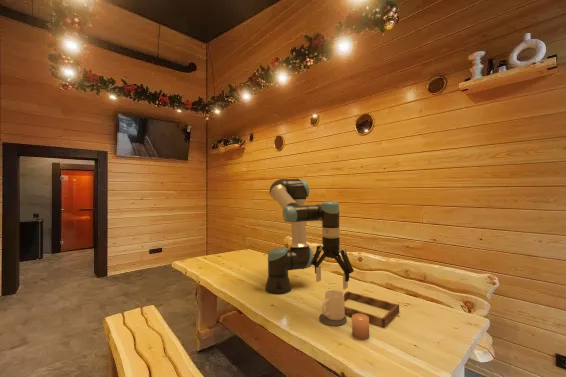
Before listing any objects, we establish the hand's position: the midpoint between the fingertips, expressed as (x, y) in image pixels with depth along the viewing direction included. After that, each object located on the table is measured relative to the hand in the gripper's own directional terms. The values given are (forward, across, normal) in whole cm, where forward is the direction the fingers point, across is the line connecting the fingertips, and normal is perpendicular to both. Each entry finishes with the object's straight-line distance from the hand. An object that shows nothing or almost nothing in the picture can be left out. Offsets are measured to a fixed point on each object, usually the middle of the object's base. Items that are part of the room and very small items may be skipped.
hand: (331, 284), depth 116 cm
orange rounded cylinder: (+15, +16, -4) cm, 22 cm away
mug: (+15, 0, 0) cm, 15 cm away
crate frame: (+15, +8, +16) cm, 23 cm away
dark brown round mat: (+15, +1, 0) cm, 15 cm away
